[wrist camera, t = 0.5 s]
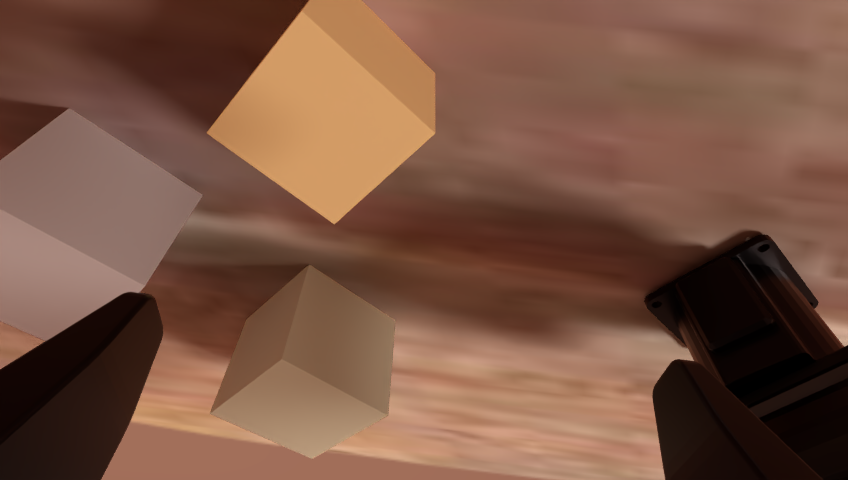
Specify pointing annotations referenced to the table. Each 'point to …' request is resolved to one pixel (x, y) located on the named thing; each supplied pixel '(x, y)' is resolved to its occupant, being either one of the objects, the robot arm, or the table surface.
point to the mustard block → (331, 107)
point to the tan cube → (309, 366)
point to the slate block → (80, 224)
